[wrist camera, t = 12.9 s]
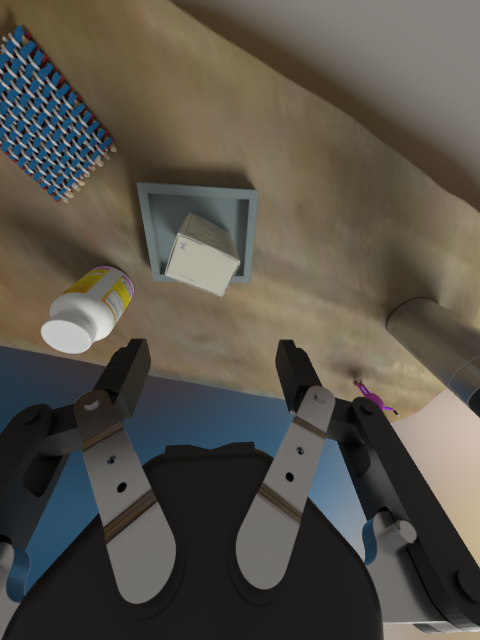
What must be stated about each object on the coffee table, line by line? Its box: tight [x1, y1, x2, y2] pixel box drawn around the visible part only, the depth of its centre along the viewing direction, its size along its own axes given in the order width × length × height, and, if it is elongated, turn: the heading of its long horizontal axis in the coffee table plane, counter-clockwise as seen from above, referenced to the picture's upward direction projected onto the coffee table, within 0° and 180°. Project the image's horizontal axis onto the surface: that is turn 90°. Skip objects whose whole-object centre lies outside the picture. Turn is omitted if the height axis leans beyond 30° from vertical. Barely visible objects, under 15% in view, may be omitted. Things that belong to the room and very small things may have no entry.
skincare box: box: [165, 212, 240, 297], centre depth 25 cm, size 6×4×12 cm
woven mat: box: [0, 25, 116, 203], centre depth 23 cm, size 10×11×2 cm
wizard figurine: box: [354, 382, 399, 425], centre depth 48 cm, size 11×3×12 cm, turn 69°
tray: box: [137, 182, 258, 283], centre depth 30 cm, size 14×12×2 cm
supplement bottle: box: [41, 266, 134, 353], centre depth 28 cm, size 7×7×13 cm
